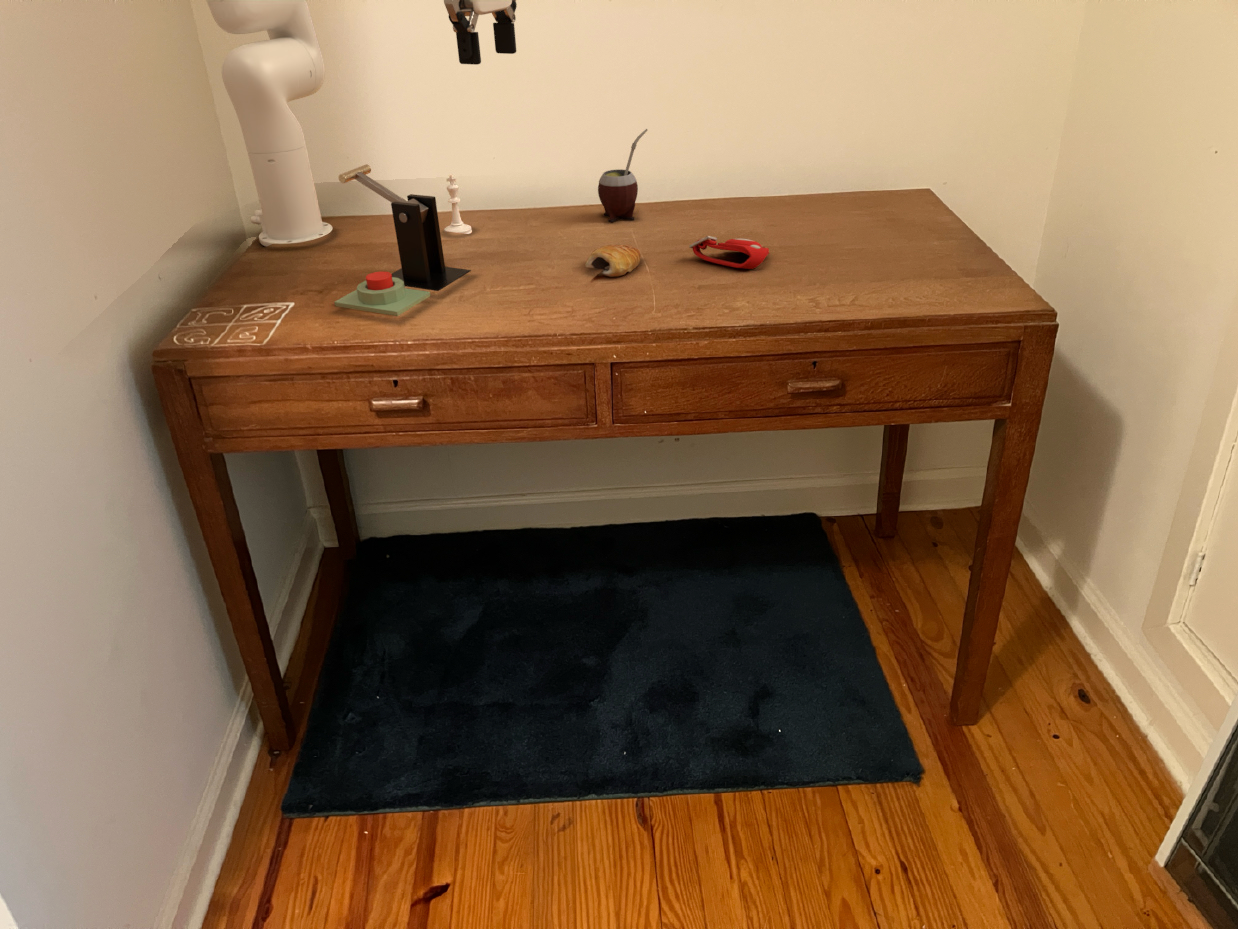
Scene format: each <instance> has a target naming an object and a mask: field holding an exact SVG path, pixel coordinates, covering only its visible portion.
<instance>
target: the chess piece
mask: <svg viewBox="0 0 1238 929" xmlns="http://www.w3.org/2000/svg"><path fill="white" fill-rule="evenodd" d="M448 176H449V178H448V177H447V178H446V182H449V185H446V190H447V192H448V194H449V197H450V198H448V200H447V202H448V203H450V204H451V222H450V225H447V226H445V228H444V229H443V231H444V232H448V233H457V234H465V235H471V234H472V232H473V229H472V226H471V225H469V224H467V223H464V221H462V218H461V212H460V210H459V205H458V203H460V202H461V199H460V198H459V197H458V192H459V185H457V184H454V183H457V180H458V179H457V178H456V177H454V175H453V174H449V175H448Z"/></svg>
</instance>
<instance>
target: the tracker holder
mask: <svg viewBox="0 0 1238 929" xmlns="http://www.w3.org/2000/svg"><path fill="white" fill-rule="evenodd" d="M717 241H718V238H717V237H715V236H711V235H706V236H705V237H703V238H700V239H697V240H695V241H694V242H692V243H691V244H689V245H688V248H690V249H692V251H693V254H694V255H695V256H697V258H699V259H702V260H704V261H706V262H710V263H712V264H717V265H722V266H726V267H731V268H736V269H744V270H745V269H747V270H752V269H755V268H757V267H759V266H760V265H761V264H763V262H764V261H765V259H766V257H767V256H768V255H769V254H770V248H769V247H763V245H761V243H759V242H758V241H755V240H752V239H748V238H729V239H727V240H726V241H725V242H718V243H717ZM707 248H711V249H716V250H721V251H730V252H739V253H743V254H745V255H747V256H748V258H747V259H746V260H745V261H744V262H742V263H738V262H735V261H734V262H733V261H728V260H724V259H718V258H715V257H711V256H708V255H706V254H704V253H703V252H702V251H704V250H706V249H707ZM701 250H702V251H701Z"/></svg>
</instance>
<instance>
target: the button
mask: <svg viewBox="0 0 1238 929" xmlns="http://www.w3.org/2000/svg"><path fill="white" fill-rule="evenodd" d="M391 274H392V273H391V272H390V271H374V272H371V273H368V274H366V276H365V281H366V282H367V287H368V290H384V289H388V288H391V287H393V281H392V275H391Z"/></svg>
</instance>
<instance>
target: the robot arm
mask: <svg viewBox="0 0 1238 929" xmlns="http://www.w3.org/2000/svg"><path fill="white" fill-rule="evenodd" d="M206 2H207V5H208V8H209V12H210V14H211V16H212V18H213V20H214V22H215V24H216V25H217V26H218V27H219V28H220V29H221V30H222V31H224V32H226V33H228V34H232V35H249V34H255V33H260V32H265V31H266V33H267V35H268V38H269V39H265V40H259V41H254V42H249V43H244V44H242V45H241V44H240V45H238V46H236V47H235V48H233V49H231V50H230V51H229V52H228V53H227V54H226V55H225V57H224V59H223V61H222V64H221V78H222V82H223V85H224V88H225V90H226V92H227V95H228V97H229V99H230V102H231V103H232V106H233V108H234V111H235V114H236V117H237V119H238V123H239V125H240V129H241V132H242V137H243V140H244V145H245V148H246V152H247V155H248V159H249V164H250V167H251V171H252V176H253V181H254V184H255V189H256V193H257V196H258V197H257V198H258V200H259V205H260V209H256V210H255V211H254V215H252V216H251V217H250V222H251V223H252V224H253V225H260V226H261V230H262V231H261V232H260V233H259V234H258V241H259V243H260V244H261V245H262V246H264V247H269V246H272V245H273V244H275V245H288V244H289V245H290V244H299V243H305V242H310V241H314V240H317V239H320V238H322V237H324V236H327V235H329V233H331V232H332V231H333V226H332V224H330V223H328V222H326V221H323V220H322V215H321V210H320V209H321V208H320V206H319V205H320V204H319V200H318V195H317V191H316V186H315V182H314V176H313V171H312V167H311V162H310V157H309V153H308V147H307V143H306V139H305V135H304V130H303V128H302V125H301V123H300V122H299V120H298V119H297V117H296V116H295V114H294V113H293V111H292V110H291V108H290V107H289V105H288V103H289V102H292V101H295V100H299V99H303V98H306V97H309V96H312V95H314V94H316V93H317V92H318V91H320V89H321V88H322V87H323V84H324V82H325V77H326V76H325V75H326V71H325V70H326V69H325V62H324V56H323V53H322V50H321V47H320V43H319V39H318V36H317V32H316V28H315V26H314V22H313V19H312V15H311V10H310V8H309V5H308V1H307V0H206ZM443 4H444V7H445V9H446V12H447V14H448V19H449V21H450V23H451V25H452V30H453V32H454V33H455V38H456V44H457V54H458V61H459V62H458V63H460V64H461V65H476V66H477V65H481V63H482V57H481V46H480V38H479V32H478V31H476V27H477V23H478V20H479V17H480V16H483V15H488V14H492V17H493V18H494V20H495V22H492V27H493V28H492V29H493V38H494V49H495V52H496V54H503V55H504V54H505V55H509V54H510V55H513V54H516V53H517V41H516V28H515V22H516V20H517V18H516V11H517V7H518V6H517V0H443ZM467 17H468V18H467Z"/></svg>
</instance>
